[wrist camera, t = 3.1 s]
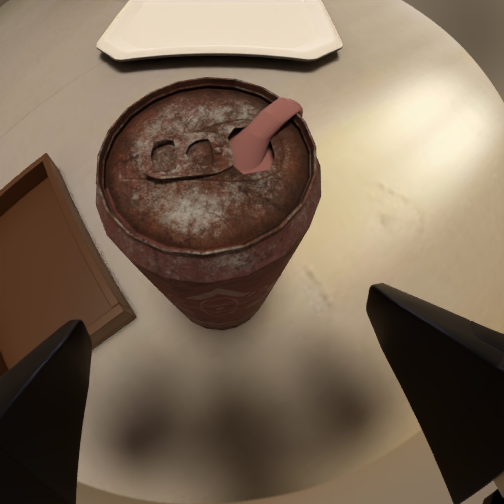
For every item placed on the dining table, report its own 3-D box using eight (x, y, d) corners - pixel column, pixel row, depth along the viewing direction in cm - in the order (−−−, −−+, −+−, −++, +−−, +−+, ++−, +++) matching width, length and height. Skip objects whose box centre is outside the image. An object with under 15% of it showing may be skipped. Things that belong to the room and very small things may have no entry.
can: (287, 278, 20) (379, 144, 7) (221, 349, 19) (201, 335, 5) (221, 220, 21) (217, 43, 8) (155, 284, 20) (46, 158, 6)
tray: (136, 317, 19) (124, 311, 16) (22, 401, 16) (2, 403, 13) (58, 169, 22) (46, 152, 20) (-31, 248, 19) (-47, 238, 16)
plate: (147, -11, 36) (145, -21, 34) (310, -9, 38) (312, -19, 36) (86, 79, 26) (80, 64, 24) (347, 79, 28) (353, 65, 26)
